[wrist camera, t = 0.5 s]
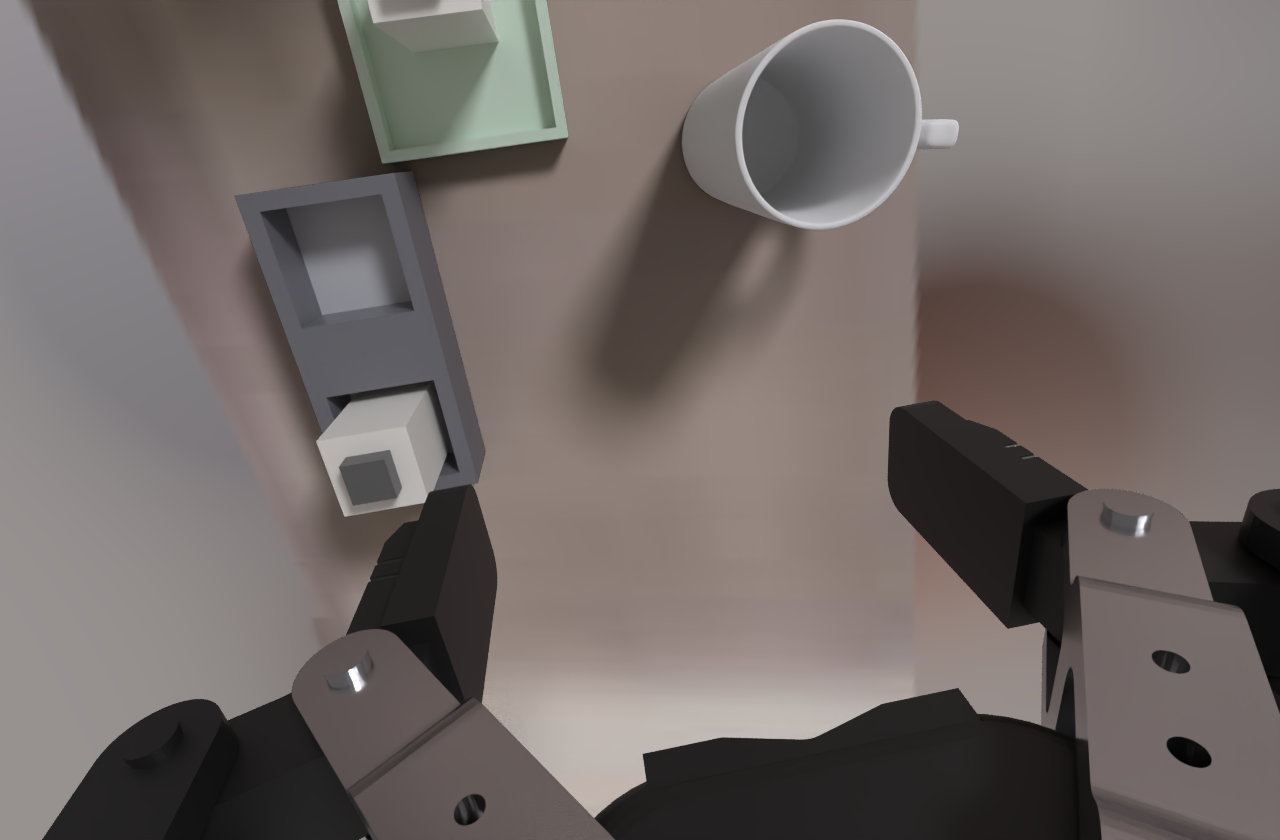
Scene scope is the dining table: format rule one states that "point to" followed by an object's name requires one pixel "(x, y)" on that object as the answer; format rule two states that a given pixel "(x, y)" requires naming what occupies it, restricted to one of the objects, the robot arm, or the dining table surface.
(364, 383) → the grey rectangular frame
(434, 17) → the plug
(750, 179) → the mug
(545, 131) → the tray
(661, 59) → the dining table surface
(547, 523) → the dining table surface
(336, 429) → the twin plug
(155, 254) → the dining table surface
